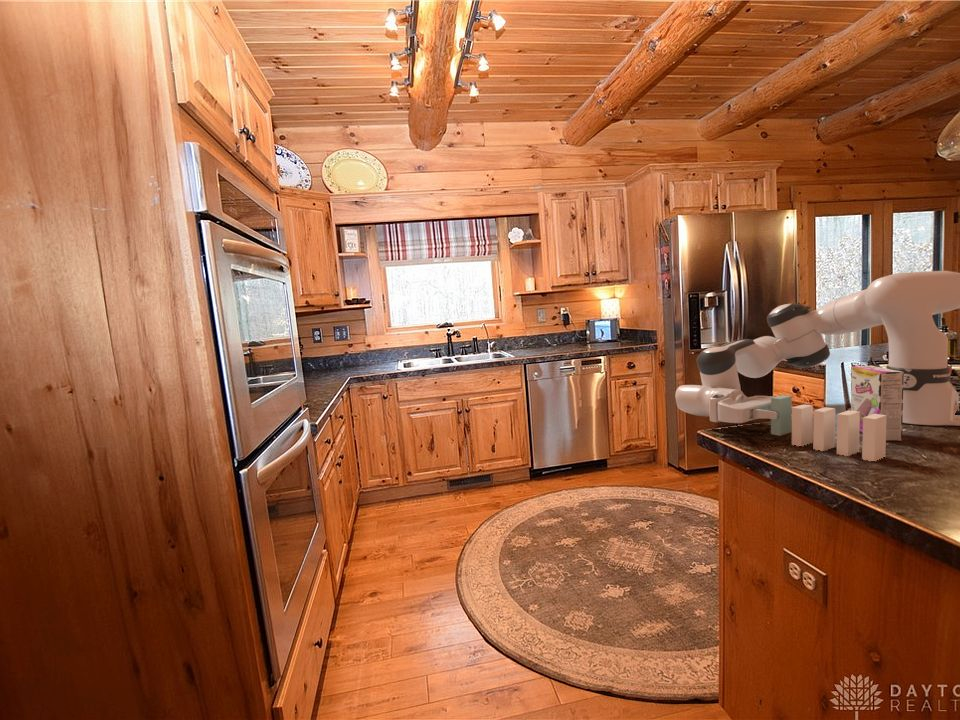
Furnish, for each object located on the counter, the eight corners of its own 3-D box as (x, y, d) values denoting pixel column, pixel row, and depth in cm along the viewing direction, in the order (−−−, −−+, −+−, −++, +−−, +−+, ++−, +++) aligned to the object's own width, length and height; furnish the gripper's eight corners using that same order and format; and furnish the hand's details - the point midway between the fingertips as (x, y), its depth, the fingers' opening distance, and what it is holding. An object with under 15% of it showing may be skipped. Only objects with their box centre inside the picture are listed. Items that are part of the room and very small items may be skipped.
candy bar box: (848, 429, 113) (849, 365, 112) (871, 428, 112) (872, 365, 111) (878, 441, 102) (880, 371, 101) (903, 441, 101) (905, 371, 100)
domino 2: (803, 440, 106) (803, 404, 105) (812, 442, 105) (813, 405, 104) (791, 444, 104) (791, 407, 103) (801, 446, 102) (801, 408, 101)
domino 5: (873, 454, 94) (874, 413, 93) (885, 457, 93) (886, 415, 92) (862, 459, 92) (863, 417, 91) (874, 462, 90) (875, 419, 89)
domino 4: (848, 449, 98) (848, 410, 97) (859, 451, 97) (859, 411, 96) (836, 454, 96) (837, 413, 95) (847, 456, 94) (848, 415, 93)
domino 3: (824, 445, 102) (825, 407, 101) (834, 447, 101) (835, 408, 100) (813, 449, 100) (813, 410, 99) (823, 451, 98) (823, 411, 97)
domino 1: (782, 430, 110) (782, 395, 109) (791, 432, 108) (791, 396, 108) (770, 434, 108) (771, 397, 107) (779, 435, 106) (779, 399, 105)
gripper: (753, 410, 124) (808, 419, 112) (706, 422, 115) (760, 433, 103) (753, 388, 124) (808, 394, 111) (705, 398, 114) (760, 406, 102)
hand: (785, 413), depth 107 cm, fingers closed on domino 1, 5 cm apart
